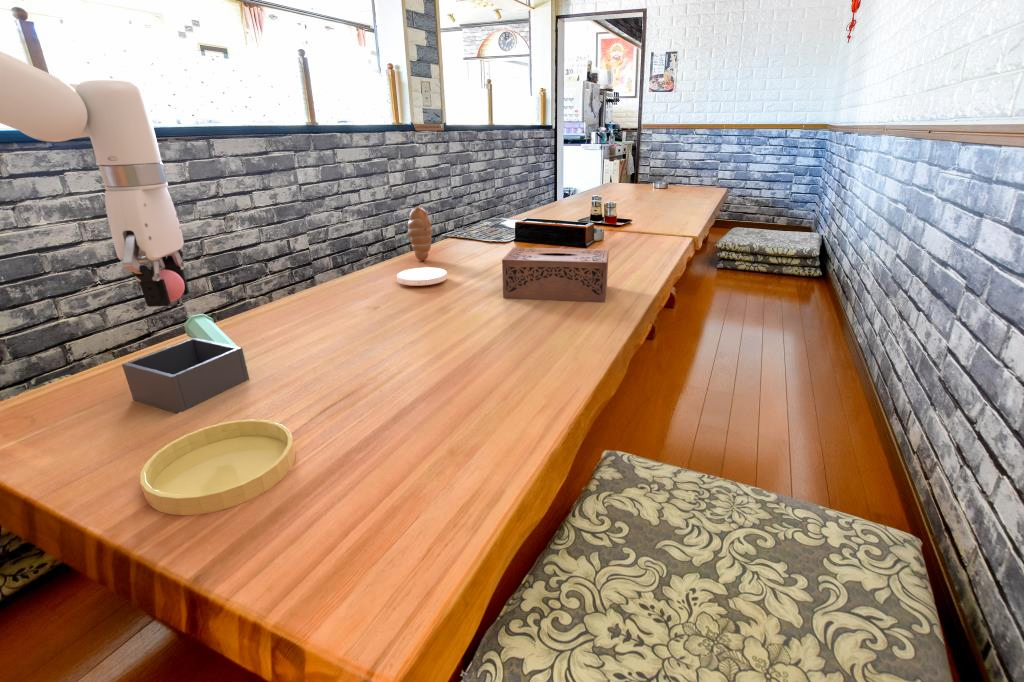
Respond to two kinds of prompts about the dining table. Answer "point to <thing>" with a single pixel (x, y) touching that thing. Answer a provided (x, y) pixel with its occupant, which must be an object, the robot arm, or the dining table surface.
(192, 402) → the bin
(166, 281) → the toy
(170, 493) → the tray
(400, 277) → the plastic lid
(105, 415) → the dining table surface
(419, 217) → the croissant
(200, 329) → the container
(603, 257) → the tissue box cover
